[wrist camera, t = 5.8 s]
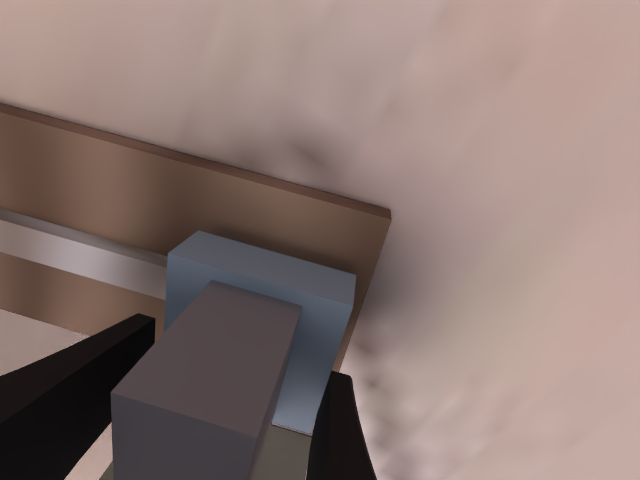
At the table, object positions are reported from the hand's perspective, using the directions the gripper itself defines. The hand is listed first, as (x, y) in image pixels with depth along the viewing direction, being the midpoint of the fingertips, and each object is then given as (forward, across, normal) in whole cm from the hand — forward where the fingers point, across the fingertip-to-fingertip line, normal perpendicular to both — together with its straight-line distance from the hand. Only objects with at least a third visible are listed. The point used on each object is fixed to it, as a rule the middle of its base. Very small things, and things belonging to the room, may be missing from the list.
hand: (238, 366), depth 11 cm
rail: (+5, +5, 0) cm, 7 cm away
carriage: (+4, 0, 0) cm, 4 cm away
